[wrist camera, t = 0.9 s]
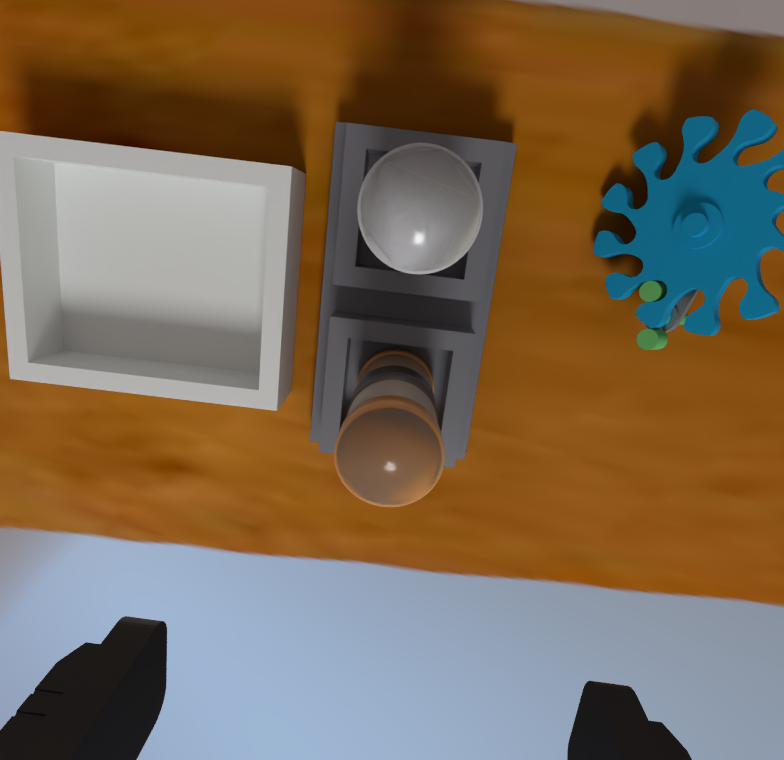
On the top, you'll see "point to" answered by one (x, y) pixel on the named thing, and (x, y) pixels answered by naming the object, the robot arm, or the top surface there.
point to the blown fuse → (391, 432)
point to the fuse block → (405, 288)
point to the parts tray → (149, 270)
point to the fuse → (420, 208)
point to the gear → (698, 230)
